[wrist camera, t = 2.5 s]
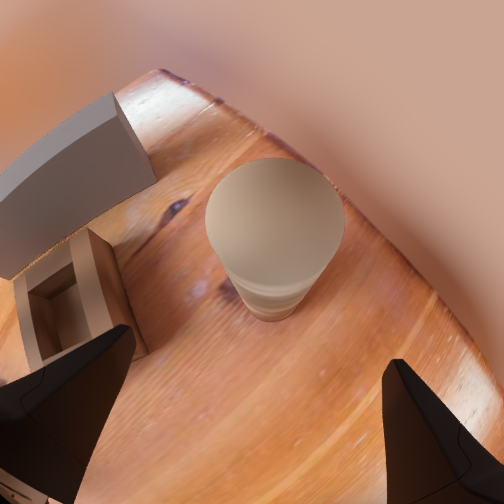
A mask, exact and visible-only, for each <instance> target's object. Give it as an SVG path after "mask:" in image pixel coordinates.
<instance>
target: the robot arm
mask: <svg viewBox="0 0 504 504" xmlns="http://www.w3.org/2000/svg"><path fill="white" fill-rule="evenodd" d="M136 346H137V342H136V338H135V335H134V331H133V328H132V327H131V326H130V325H127V324H119V325H117V326H115V327H113V328H112V329H110V330H108V331H106V332H105V333H103V334H101V335H99V336H97V337H96V338H94V339H92V340H90V341H88V342H87V343H85V344H83V345H81V346H80V347H78V348H76V349H74V350H72V351H71V352H69V353H67V354H65V355H63V356H62V357H60V358H58V359H56V360H54V361H53V362H51V363H49V364H47V365H46V366H44V367H42V368H40V369H38V370H36V371H35V372H33V373H31V374H29V375H27V376H25V377H23V378H20V379H18V380H16V381H14V382H11V383H9V384H7V385H4V386H2V387H0V504H49V502H48V498H49V497H50V498H52V499H54V500H56V501H59V502H61V503H63V504H74V501H75V499H76V496H77V493H78V490H79V487H80V485H81V482H82V479H83V477H84V474H85V472H86V469H87V468H86V467H87V466H88V463H89V461H90V458H91V456H92V453H93V451H94V449H95V446H96V444H97V441H98V439H99V437H100V434H101V432H102V430H103V427H104V425H105V423H106V420H107V418H108V416H109V414H110V411H111V409H112V407H113V405H114V403H115V401H116V398H117V396H118V394H119V392H120V390H121V388H122V385H123V383H124V381H125V378H126V375H127V372H128V370H129V367H130V364H131V361H132V358H133V355H134V353H135V350H136ZM382 417H383V428H384V438H385V451H386V469H387V504H504V465H503V464H501V463H500V462H499V461H498V460H497V459H496V458H495V457H493V456H492V455H491V454H490V453H489V452H488V451H487V450H486V449H485V448H484V447H483V446H482V445H481V444H480V443H479V442H478V441H477V440H476V439H475V438H474V437H473V436H472V435H471V434H470V433H469V431H468V430H467V429H466V428H465V427H464V426H463V425H462V423H460V421H459V420H458V419H457V418H456V417H455V416H454V414H453V413H452V412H451V411H450V410H449V409H448V408H447V407H446V405H445V404H444V403H443V402H442V401H441V400H440V399H439V398H438V396H437V395H436V394H435V393H434V392H433V391H432V390H431V389H430V388H429V387H428V386H427V384H426V383H425V382H424V381H423V380H422V379H421V378H420V377H419V376H418V375H417V374H416V373H415V371H414V370H413V369H412V368H411V367H410V366H409V365H408V364H407V363H406V362H405V361H404V360H403V359H392V360H391V361H390V363H389V364H388V366H387V368H386V370H385V371H384V373H383V376H382Z"/></svg>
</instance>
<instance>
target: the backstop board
mask: <svg viewBox="0 0 504 504" xmlns="http://www.w3.org/2000/svg"><path fill="white" fill-rule="evenodd" d="M156 182H157V179H156V176H155V174H154V171H153V168H152V166H151V163H150V160H149V157H148V155H147V153H146V151H145V150H144V148H143V146H142V144H141V143H140V141H139V139H138V137H137V136H136V134H135V132H134V130H133V129H132V127H131V125H130V123H129V121H128V120H127V118H126V116H125V114H124V112H123V111H122V109H121V107H120V105H119V103H118V101H117V100H116V98H115V96H114V94H113V92H112V91H111V92H110V93H108V94H106V95H104V96H102V97H101V98H99V99H97V100H96V101H94V102H92V103H91V104H89V105H88V106H86V107H84V108H83V109H81V110H80V111H78V112H77V113H75V114H74V115H72V116H71V117H69V118H68V119H66V120H65V121H63V122H62V123H61V124H59V125H58V126H57V127H55V128H54V129H53V130H51V131H50V132H49V133H47V134H46V135H45V136H43V137H42V138H41V139H40V140H38V141H37V142H36V143H35V144H34V145H32V146H31V147H30V148H29V149H27V150H26V151H25V152H24V153H23V154H22V155H21V156H19V157H18V158H17V159H16V160H15V161H14V162H13V163H12V164H11V165H10V166H9V167H8V168H7V169H5V171H4V172H3V173H2V174H0V277H2V278H4V279H7V280H10V279H11V278H12V277H14V276H15V275H16V274H17V273H18V272H20V271H21V270H22V269H23V268H25V267H26V266H27V265H29V264H30V263H31V262H32V261H34V260H35V259H36V258H38V257H39V256H40V255H42V254H43V253H44V252H46V251H47V250H48V249H50V248H51V247H53V246H54V245H55V244H57V243H58V242H60V241H61V240H62V239H64V238H65V237H67V236H68V235H70V234H71V233H73V232H74V231H76V230H77V229H79V228H80V227H82V226H83V225H85V224H86V223H88V222H89V221H91V220H92V219H94V218H96V217H97V216H99V215H100V214H102V213H104V212H105V211H107V210H109V209H110V208H112V207H114V206H115V205H117V204H119V203H120V202H122V201H124V200H125V199H127V198H129V197H131V196H133V195H134V194H136V193H138V192H140V191H141V190H143V189H145V188H147V187H149V186H151V185H153V184H154V183H156Z"/></svg>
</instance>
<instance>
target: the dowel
mask: <svg viewBox="0 0 504 504" xmlns="http://www.w3.org/2000/svg"><path fill="white" fill-rule="evenodd" d="M205 225H206V232H207V235H208V239H209V241H210V244H211V246H212V248H213V250H214V251H215V253H216V255H217V257H218V258H219V260H220V262H221V264H222V265H223V267H224V269H225V271H226V272H227V274H228V276H229V278H230V279H231V281H232V283H233V285H234V286H235V288H236V290H237V291H238V293H239V295H240V296H241V298H242V300H243V302H244V303H245V305H246V307H247V308H248V310H249V311H250V313H251V314H252V315H253V316H255V317H256V318H258V319H260V320H262V321H266V322H277V321H281V320H283V319H285V318H287V317H288V316H289V315H290V314H291V313H292V312H293V311H294V310H295V308H296V307H297V306H298V304H299V303H300V302H301V300H302V299H303V298H304V296H305V295H306V294H307V292H308V291H309V290H310V288H311V287H312V286H313V284H314V283H315V282H316V280H317V279H318V277H319V276H320V275H321V273H322V272H323V270H324V269H325V268H326V266H327V265H328V263H329V262H330V261H331V259H332V258H333V256H334V255H335V253H336V252H337V250H338V248H339V246H340V244H341V241H342V238H343V234H344V230H345V214H344V209H343V205H342V202H341V199H340V197H339V195H338V193H337V191H336V190H335V188H334V187H333V186H332V184H331V183H330V182H329V181H328V180H327V179H326V178H325V177H324V176H323V175H322V174H321V173H319V172H318V171H316V170H315V169H313V168H312V167H310V166H308V165H306V164H303V163H301V162H298V161H294V160H290V159H284V158H264V159H258V160H254V161H251V162H248V163H245V164H243V165H241V166H239V167H237V168H235V169H234V170H232V171H231V172H230V173H228V174H227V175H226V176H225V177H224V178H223V179H222V180H221V181H220V182H219V183H218V185H217V186H216V187H215V189H214V190H213V192H212V194H211V196H210V198H209V201H208V204H207V208H206V214H205Z"/></svg>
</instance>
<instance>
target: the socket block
mask: <svg viewBox="0 0 504 504" xmlns="http://www.w3.org/2000/svg"><path fill="white" fill-rule="evenodd" d="M13 283H14V292H15V300H16V307H17V314H18V320H19V325H20V330H21V335H22V340H23V344H24V348H25V352H26V356H27V360H28V364H29V367H30V371H31V373H33V372H35V371H36V370H38V369H40V368H42V367H44V366H46V365H47V364H49V363H51V362H53V361H54V360H56V359H58V358H60V357H62V356H63V355H65V354H67V353H69V352H71V351H72V350H74V349H76V348H78V347H80V346H81V345H83V344H85V343H87V342H88V341H90V340H92V339H94V338H96V337H97V336H99V335H101V334H103V333H105V332H106V331H108V330H110V329H112V328H113V327H115V326H117V325H119V324H127V325H130V326H131V327H132V328H133V331H134V335H135V338H136V342H137V346H136V350H135V353H134V355H133V358H132V361H135V360H137V359H139V358H142V357H144V356H146V355H149V353H148V350H147V348H146V346H145V343H144V341H143V338H142V336H141V333H140V331H139V328H138V326H137V323H136V320H135V318H134V315H133V312H132V309H131V307H130V304H129V301H128V298H127V295H126V292H125V289H124V286H123V283H122V280H121V276H120V273H119V270H118V266H117V263H116V260H115V256H114V252H113V249H112V245H110V244H109V243H107V242H106V241H105V240H103V239H102V238H101V237H99V236H98V235H97V234H95V233H94V232H93V231H91V230H90V229H89V228H86V229H84V230H83V231H81V232H80V233H78V234H77V235H75V236H74V237H72V238H71V239H69V240H68V241H66V242H65V243H63V244H62V245H60V246H59V247H57V248H56V249H55V250H53V251H52V252H50V253H49V254H48V255H46V256H45V257H44V258H42V259H41V260H40V261H38V262H37V263H36V264H34V265H33V266H32V267H30V268H29V269H28V270H26V271H25V272H24V273H23V274H21V275H20V276H19V277H18V278H16V279H15V280H14V281H13ZM132 361H131V362H132Z"/></svg>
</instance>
